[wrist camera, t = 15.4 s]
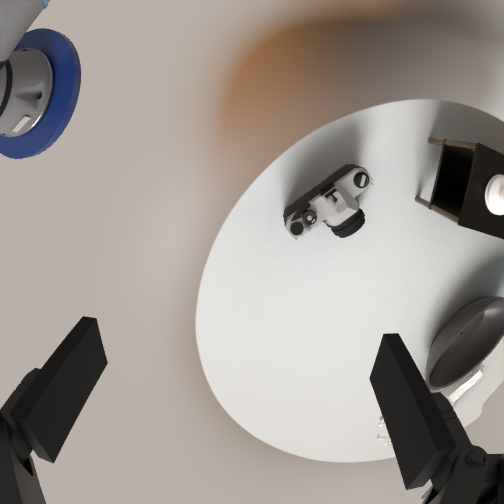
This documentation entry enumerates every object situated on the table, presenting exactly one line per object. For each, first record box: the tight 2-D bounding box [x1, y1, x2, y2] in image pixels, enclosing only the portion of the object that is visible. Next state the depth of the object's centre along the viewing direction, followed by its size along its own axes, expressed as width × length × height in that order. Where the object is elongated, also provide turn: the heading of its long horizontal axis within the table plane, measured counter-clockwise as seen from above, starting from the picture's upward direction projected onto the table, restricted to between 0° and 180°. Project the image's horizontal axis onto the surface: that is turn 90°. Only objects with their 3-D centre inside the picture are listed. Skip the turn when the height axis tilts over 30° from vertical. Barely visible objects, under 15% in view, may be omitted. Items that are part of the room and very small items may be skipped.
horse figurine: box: [377, 363, 484, 446], centre depth 54 cm, size 5×16×25 cm
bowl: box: [425, 296, 504, 389], centre depth 49 cm, size 12×22×6 cm, turn 142°
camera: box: [283, 164, 373, 239], centre depth 41 cm, size 13×8×9 cm, turn 131°
